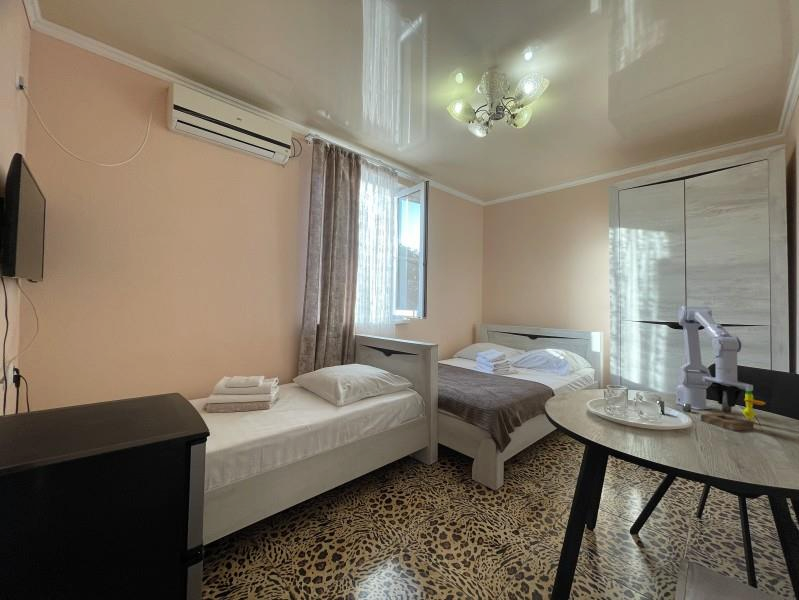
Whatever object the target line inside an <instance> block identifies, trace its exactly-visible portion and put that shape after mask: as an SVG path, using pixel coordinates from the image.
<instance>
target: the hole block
mask: <svg viewBox="0 0 799 600" xmlns="http://www.w3.org/2000/svg"><path fill="white" fill-rule="evenodd" d="M700 421H701V422H704V423H707V424H710V425H714V426H716V427H720V428H722V429H725V430H729V431H743V429H745V430H753V429H754V425H755V424H753V421H754V420H751V421H749V420H748V419H746V418H745V419H744V418H742V417H738V416H734V415H731V414H728V413H725V412H714V413H713V412H712V413H701V414H700Z"/></svg>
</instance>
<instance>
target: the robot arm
mask: <svg viewBox="0 0 799 600" xmlns="http://www.w3.org/2000/svg"><path fill="white" fill-rule="evenodd" d="M712 314H713V312H712V309H711V308H710V307H709V306H707V305H705V306H694V305H693V306H688V305H687V306H686V305H682V306H680V307H679V308H678V311H677V319H678V325H680V326H681V327H682V329H683V338H684V348H685V349H684V351H685V358H686V359H685V360H686V363H685V364H683V365H681V366H680V367H679V368H678V369H679V370H678V380H679V383H680V384H678V385H677V387H676V391H675V393H676V399H675V404H677V405H679V406H683V403H687V404H691V409H694V410H699V411H700V410H701V411H702V410H711V409H713V407H711V406H707V389H709V387H710V389H712V392H713V393H714V395H715V397H716V400H717V403H718V404H719V405H722V391H727V396H728V406H729V407H732V408H733V407H736V405H737V401H738V398H739V397H740V396H741V394H742V393H743V392H744V391H746V390H748V391H754V385H753V384H750V383H746V382H742V381H738V353H739V352H740V351H741V350H742V347H743V345H742V340H740V338H739V336H737V335H736V336H734V335H731V334H730V333H729V332H728V331H727V330H726V329H725V328H724V326H723V325H722V324H719V323H716V322H715V320H714V319H713V317H712V316H713V315H712ZM701 326H702V327H703V328H704V333H705V335H706V336H707V337H708V339H709V340H711V347H712V351H713V355H714V356H715V377H714V376H712V374H711V373H710V372H711V371H710V369H709V368H708V367H706V366H705V365H704V364H702V363H703V362H702V355H701V354H702V352H701V347H700V346H701V345H700V335H699V328H700V327H701Z"/></svg>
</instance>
